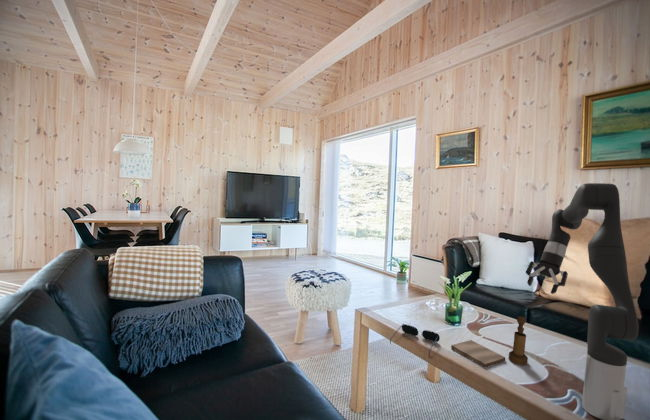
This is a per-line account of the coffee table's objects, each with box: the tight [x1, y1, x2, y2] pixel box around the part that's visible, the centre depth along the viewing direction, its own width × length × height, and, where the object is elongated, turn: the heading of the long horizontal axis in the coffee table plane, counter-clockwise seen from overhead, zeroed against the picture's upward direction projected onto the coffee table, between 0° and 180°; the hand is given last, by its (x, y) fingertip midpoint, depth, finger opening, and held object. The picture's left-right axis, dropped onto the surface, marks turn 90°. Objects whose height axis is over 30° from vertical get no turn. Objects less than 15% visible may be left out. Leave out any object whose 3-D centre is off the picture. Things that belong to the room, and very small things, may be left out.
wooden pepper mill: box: [508, 315, 529, 366], centre depth 131 cm, size 7×6×18 cm
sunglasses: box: [389, 323, 441, 356], centre depth 143 cm, size 17×15×5 cm
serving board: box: [450, 339, 506, 368], centre depth 135 cm, size 16×12×2 cm
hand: (540, 289), depth 140 cm, fingers open, 8 cm apart
